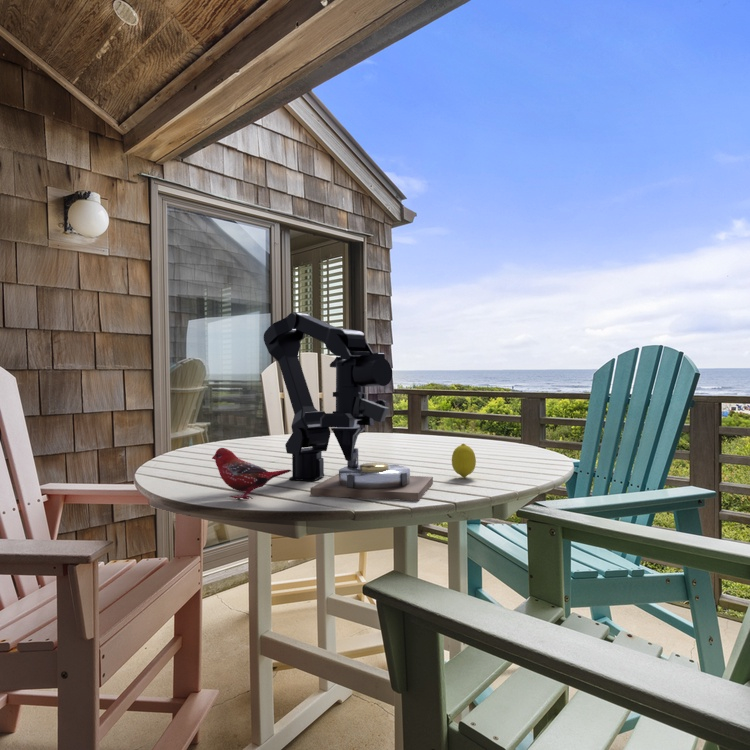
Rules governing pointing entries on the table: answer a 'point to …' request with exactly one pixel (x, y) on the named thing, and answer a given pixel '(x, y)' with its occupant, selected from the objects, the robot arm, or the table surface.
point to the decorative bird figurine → (242, 473)
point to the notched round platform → (372, 475)
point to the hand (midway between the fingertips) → (348, 460)
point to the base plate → (407, 492)
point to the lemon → (463, 460)
